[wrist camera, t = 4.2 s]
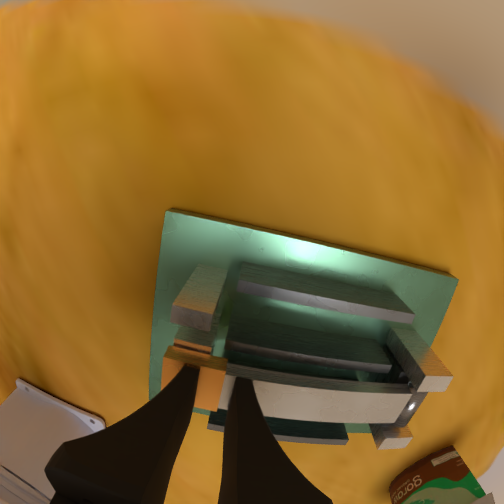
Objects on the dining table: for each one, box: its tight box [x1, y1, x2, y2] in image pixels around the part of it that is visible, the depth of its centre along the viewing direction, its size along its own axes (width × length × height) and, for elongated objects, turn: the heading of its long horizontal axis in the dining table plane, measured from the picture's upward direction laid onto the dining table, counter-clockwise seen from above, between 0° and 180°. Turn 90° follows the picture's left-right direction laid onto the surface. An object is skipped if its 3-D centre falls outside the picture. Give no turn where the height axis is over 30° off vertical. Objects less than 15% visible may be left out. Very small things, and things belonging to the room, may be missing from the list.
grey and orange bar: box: [161, 345, 428, 428], centre depth 12 cm, size 12×2×1 cm, turn 78°
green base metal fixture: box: [149, 208, 459, 450], centre depth 14 cm, size 16×12×6 cm
